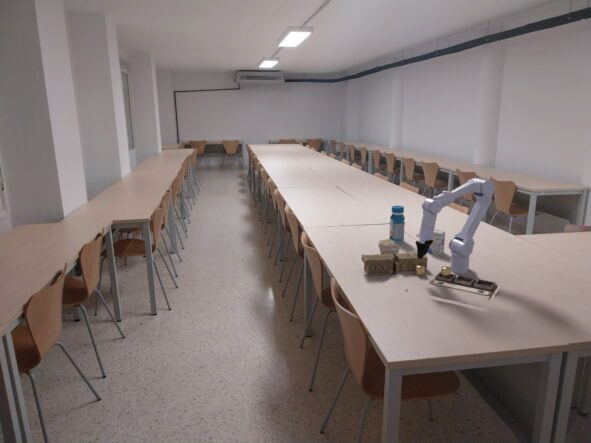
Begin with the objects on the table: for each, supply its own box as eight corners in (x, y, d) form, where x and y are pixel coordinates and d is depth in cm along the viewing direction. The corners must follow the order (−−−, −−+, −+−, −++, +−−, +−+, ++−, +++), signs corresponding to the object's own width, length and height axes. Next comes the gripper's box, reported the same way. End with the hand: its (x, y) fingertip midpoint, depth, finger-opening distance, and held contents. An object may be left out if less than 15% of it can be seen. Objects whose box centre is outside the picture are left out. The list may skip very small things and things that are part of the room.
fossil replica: (403, 254, 222) (385, 252, 228) (403, 238, 221) (385, 237, 227) (394, 258, 212) (375, 256, 218) (393, 242, 211) (375, 241, 217)
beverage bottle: (398, 243, 239) (399, 209, 234) (386, 240, 245) (387, 206, 240) (407, 240, 244) (408, 206, 239) (394, 237, 251) (396, 204, 246)
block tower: (420, 269, 203) (360, 270, 200) (421, 252, 201) (361, 253, 198) (426, 274, 196) (364, 276, 193) (428, 257, 194) (365, 258, 191)
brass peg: (417, 274, 193) (417, 264, 192) (425, 276, 191) (426, 266, 189) (413, 277, 190) (414, 266, 189) (422, 279, 188) (423, 268, 186)
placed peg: (442, 276, 187) (443, 265, 186) (451, 278, 185) (452, 267, 184) (439, 279, 184) (440, 268, 183) (448, 281, 182) (449, 270, 181)
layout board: (439, 275, 191) (440, 270, 190) (497, 287, 177) (497, 281, 177) (429, 286, 180) (429, 280, 179) (489, 299, 166) (490, 293, 166)
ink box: (424, 251, 224) (425, 230, 222) (429, 249, 228) (430, 228, 225) (440, 255, 219) (441, 233, 216) (444, 252, 222) (445, 230, 219)
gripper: (421, 222, 192) (416, 251, 194) (414, 226, 179) (408, 257, 182) (437, 225, 189) (431, 254, 191) (431, 230, 176) (425, 261, 179)
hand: (421, 256), depth 186 cm, fingers open, 7 cm apart
